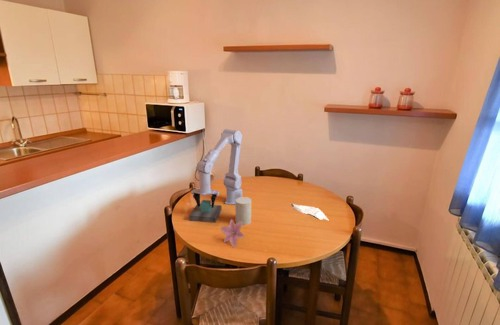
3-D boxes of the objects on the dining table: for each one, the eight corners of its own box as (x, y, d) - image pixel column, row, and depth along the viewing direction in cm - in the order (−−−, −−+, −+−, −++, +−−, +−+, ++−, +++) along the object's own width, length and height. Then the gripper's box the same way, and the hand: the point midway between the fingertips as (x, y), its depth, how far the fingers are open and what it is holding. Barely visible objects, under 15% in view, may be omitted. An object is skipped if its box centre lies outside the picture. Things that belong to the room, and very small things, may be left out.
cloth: (336, 219, 150) (336, 215, 149) (318, 226, 143) (318, 222, 142) (303, 201, 171) (303, 197, 170) (286, 206, 164) (286, 202, 163)
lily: (220, 236, 133) (214, 225, 126) (240, 223, 136) (236, 212, 129) (231, 255, 125) (226, 245, 118) (253, 241, 128) (249, 230, 122)
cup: (239, 226, 140) (239, 205, 137) (233, 219, 147) (233, 198, 143) (253, 222, 144) (254, 201, 140) (246, 216, 151) (246, 195, 147)
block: (211, 208, 152) (210, 200, 150) (208, 212, 148) (208, 203, 146) (203, 208, 152) (202, 199, 151) (200, 211, 148) (200, 203, 146)
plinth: (221, 210, 157) (221, 205, 156) (215, 222, 143) (215, 217, 142) (197, 208, 158) (197, 203, 157) (189, 220, 145) (189, 215, 144)
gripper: (189, 185, 142) (190, 209, 146) (216, 187, 140) (217, 211, 145) (193, 180, 149) (194, 203, 153) (219, 181, 147) (220, 205, 151)
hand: (205, 206), depth 149 cm, fingers open, 7 cm apart
